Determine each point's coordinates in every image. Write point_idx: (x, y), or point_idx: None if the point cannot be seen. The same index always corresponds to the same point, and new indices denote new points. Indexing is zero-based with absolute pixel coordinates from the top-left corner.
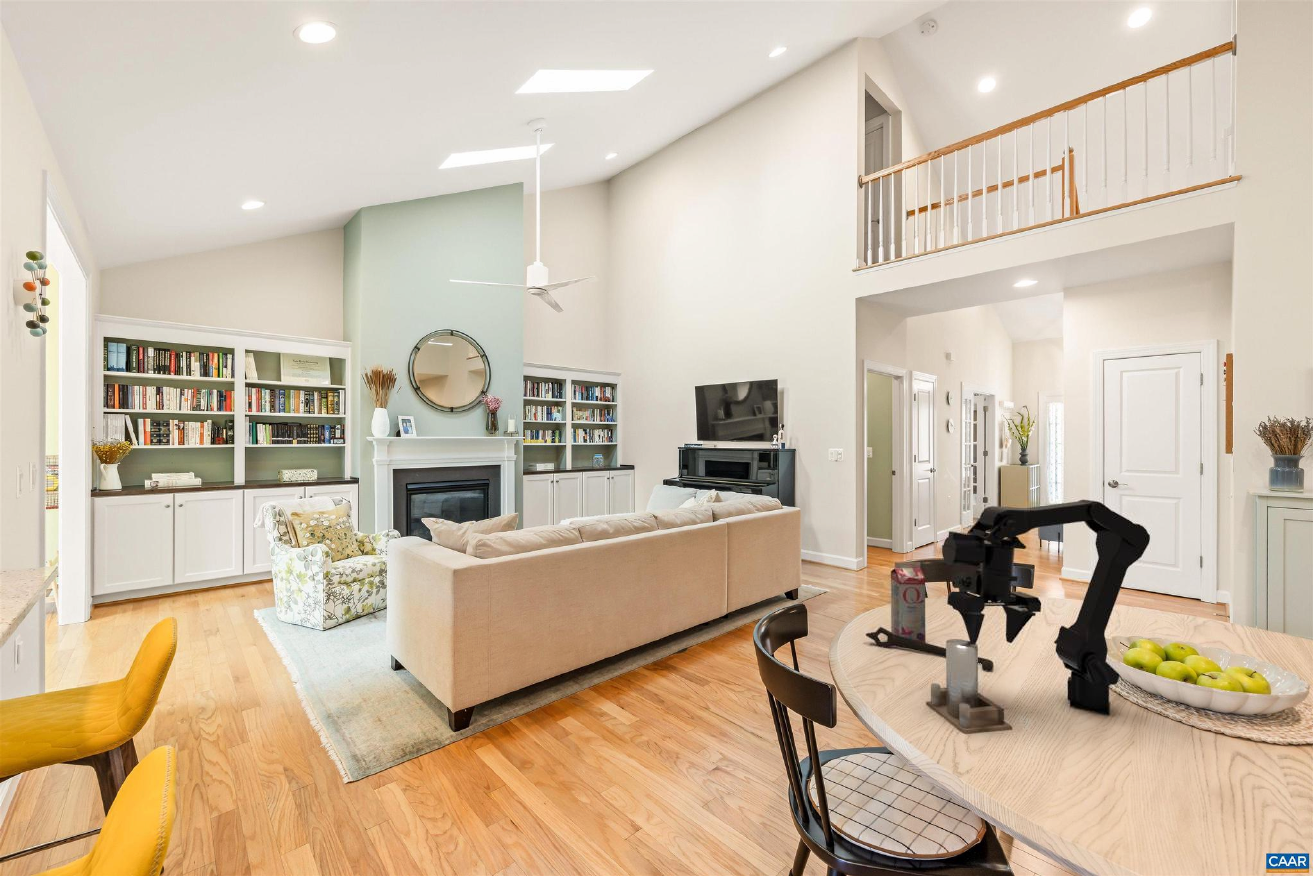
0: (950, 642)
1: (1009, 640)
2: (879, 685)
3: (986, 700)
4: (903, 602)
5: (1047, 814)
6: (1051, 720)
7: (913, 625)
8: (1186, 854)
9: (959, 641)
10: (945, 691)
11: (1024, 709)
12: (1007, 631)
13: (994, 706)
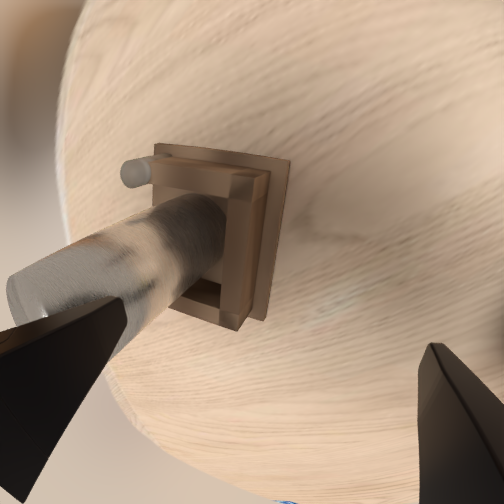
0: (14, 300)
1: (422, 374)
2: (126, 25)
3: (230, 280)
4: None
5: (151, 415)
6: (399, 330)
7: None
8: (225, 477)
9: (38, 314)
10: (161, 185)
11: (400, 265)
12: (444, 403)
13: (223, 312)
